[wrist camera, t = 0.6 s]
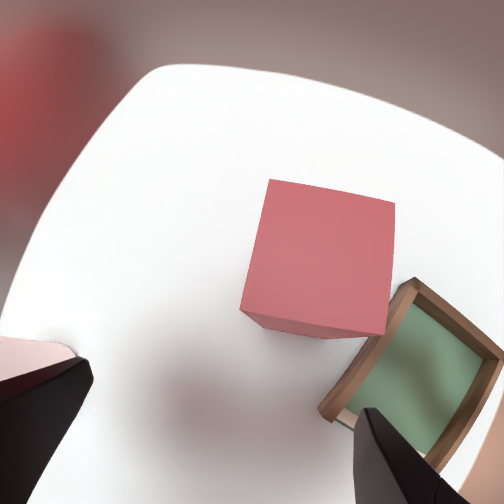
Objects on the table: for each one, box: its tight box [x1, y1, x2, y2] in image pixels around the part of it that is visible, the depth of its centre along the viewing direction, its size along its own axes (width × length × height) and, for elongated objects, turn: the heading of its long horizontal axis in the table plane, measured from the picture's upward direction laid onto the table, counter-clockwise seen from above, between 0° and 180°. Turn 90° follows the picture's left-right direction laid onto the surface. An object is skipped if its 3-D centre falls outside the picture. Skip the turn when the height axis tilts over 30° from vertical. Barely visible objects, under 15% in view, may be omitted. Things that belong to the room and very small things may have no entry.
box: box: [318, 277, 504, 474], centre depth 17 cm, size 12×13×3 cm
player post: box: [239, 179, 395, 339], centre depth 16 cm, size 5×5×13 cm
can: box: [0, 336, 76, 381], centre depth 16 cm, size 6×6×12 cm
